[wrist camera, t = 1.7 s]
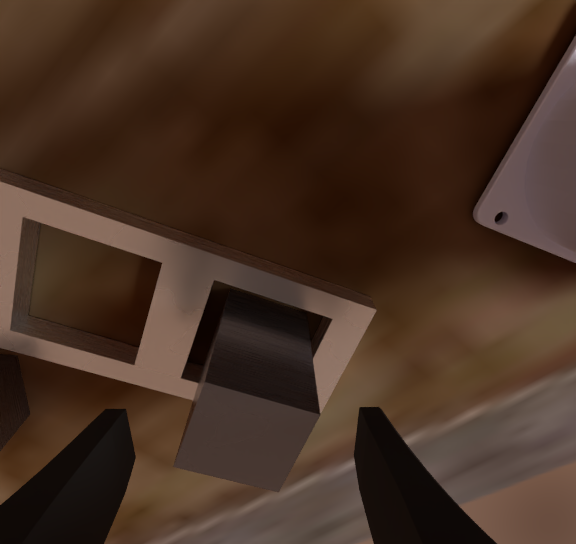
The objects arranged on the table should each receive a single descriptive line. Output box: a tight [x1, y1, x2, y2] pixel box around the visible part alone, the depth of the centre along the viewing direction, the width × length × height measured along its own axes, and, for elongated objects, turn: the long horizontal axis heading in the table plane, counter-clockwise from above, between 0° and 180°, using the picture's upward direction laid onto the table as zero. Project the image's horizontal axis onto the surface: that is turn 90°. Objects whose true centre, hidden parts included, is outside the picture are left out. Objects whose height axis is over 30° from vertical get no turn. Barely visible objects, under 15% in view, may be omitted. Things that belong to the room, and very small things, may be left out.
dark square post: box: [173, 288, 320, 492], centre depth 14 cm, size 4×4×6 cm
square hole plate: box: [0, 168, 377, 414], centre depth 15 cm, size 22×7×1 cm, turn 69°
